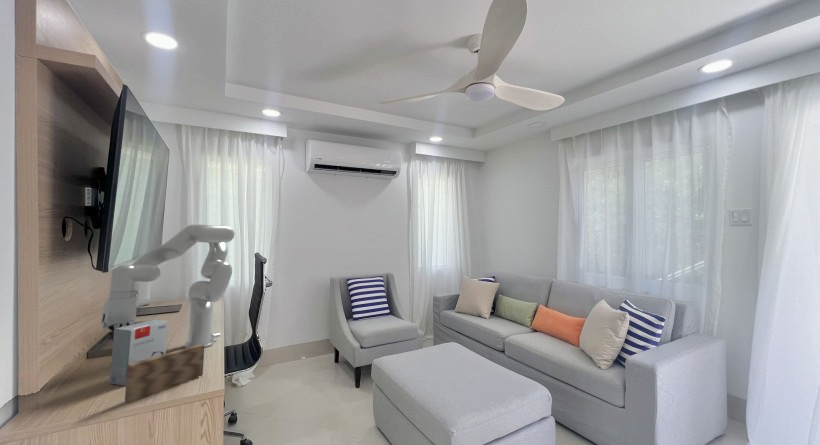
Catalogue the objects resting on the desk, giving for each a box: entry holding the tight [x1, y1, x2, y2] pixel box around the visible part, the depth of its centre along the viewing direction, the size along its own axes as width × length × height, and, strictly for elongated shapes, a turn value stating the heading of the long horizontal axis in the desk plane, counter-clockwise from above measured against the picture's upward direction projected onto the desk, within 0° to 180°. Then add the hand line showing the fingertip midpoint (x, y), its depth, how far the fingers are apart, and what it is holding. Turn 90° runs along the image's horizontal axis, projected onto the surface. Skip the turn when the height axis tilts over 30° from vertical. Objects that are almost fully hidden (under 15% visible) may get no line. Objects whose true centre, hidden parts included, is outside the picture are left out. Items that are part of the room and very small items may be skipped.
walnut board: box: [124, 344, 205, 404], centre depth 118 cm, size 24×2×12 cm, turn 154°
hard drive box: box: [109, 319, 169, 387], centre depth 126 cm, size 16×8×20 cm, turn 168°
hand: (117, 340), depth 132 cm, fingers closed
